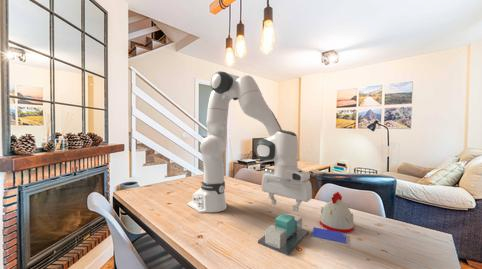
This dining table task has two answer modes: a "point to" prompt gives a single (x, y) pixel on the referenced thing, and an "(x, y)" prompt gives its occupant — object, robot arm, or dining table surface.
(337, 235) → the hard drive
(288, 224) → the block
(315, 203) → the dining table surface
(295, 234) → the rail panel
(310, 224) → the dining table surface
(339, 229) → the kitchen timer
